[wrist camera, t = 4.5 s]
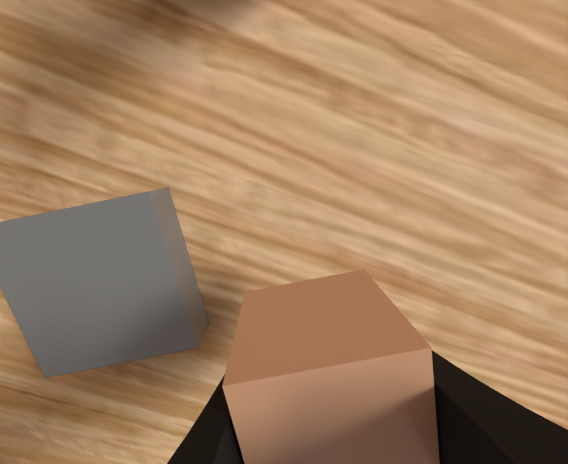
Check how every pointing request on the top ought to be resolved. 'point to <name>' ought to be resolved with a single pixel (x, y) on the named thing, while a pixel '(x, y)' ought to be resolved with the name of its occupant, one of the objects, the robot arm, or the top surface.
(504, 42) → the top surface
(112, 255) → the plate
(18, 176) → the top surface
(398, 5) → the top surface
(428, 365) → the terracotta block
